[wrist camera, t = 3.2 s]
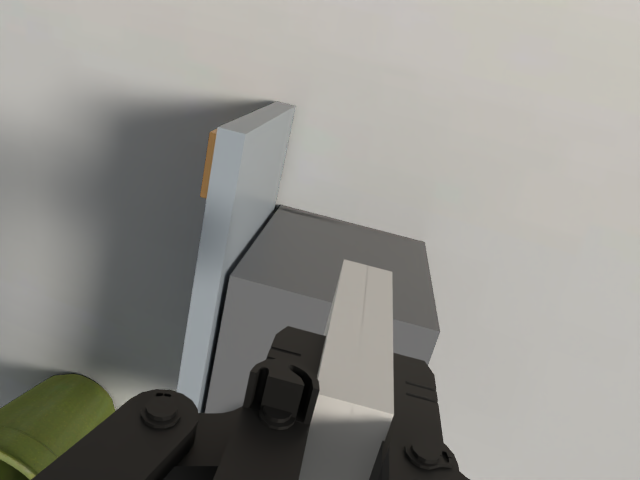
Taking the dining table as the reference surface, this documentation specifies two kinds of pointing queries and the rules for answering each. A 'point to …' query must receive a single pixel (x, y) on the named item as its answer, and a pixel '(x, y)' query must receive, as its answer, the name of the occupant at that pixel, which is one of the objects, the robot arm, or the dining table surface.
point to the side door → (230, 227)
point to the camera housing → (313, 293)
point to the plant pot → (48, 423)
